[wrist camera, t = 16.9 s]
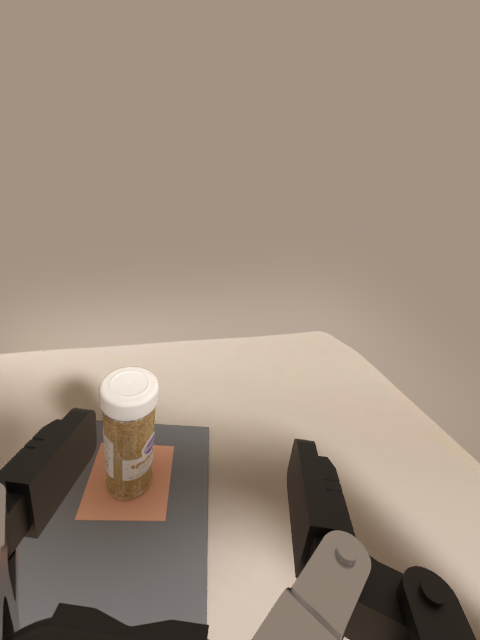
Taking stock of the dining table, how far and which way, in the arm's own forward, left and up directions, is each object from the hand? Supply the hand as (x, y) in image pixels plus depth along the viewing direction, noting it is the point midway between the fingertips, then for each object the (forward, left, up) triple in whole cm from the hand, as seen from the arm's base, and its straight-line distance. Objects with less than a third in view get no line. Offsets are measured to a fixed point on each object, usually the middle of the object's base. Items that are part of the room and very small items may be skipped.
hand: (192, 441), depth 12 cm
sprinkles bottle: (+5, -11, -22) cm, 25 cm away
